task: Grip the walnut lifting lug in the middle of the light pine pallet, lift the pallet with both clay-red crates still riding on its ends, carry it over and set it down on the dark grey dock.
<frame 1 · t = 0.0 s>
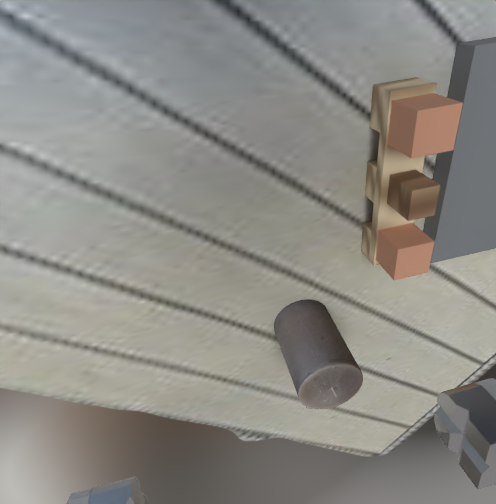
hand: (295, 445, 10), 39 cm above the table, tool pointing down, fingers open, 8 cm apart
pallet: (385, 175, 52), on the table, touching crate a, crate b
pillar candle: (299, 320, 64), on the table
dock: (480, 156, 53), on the table
crate a: (409, 119, 44), point 4 cm above the table, touching pallet
crate b: (393, 241, 53), point 4 cm above the table, touching pallet
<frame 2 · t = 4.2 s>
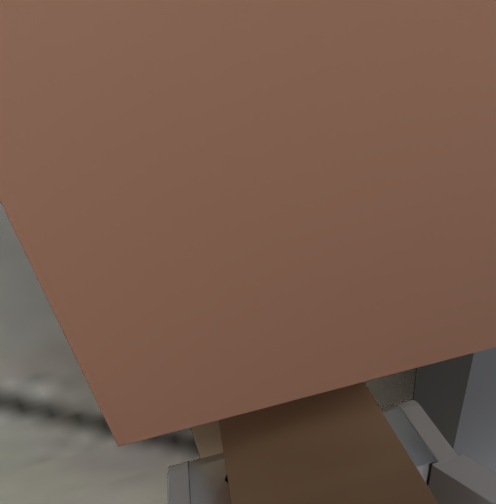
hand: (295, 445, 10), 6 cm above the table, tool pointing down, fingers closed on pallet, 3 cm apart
pallet: (251, 316, 15), on the table, touching crate a, crate b, gripper
crate a: (238, 93, 7), point 4 cm above the table, touching pallet
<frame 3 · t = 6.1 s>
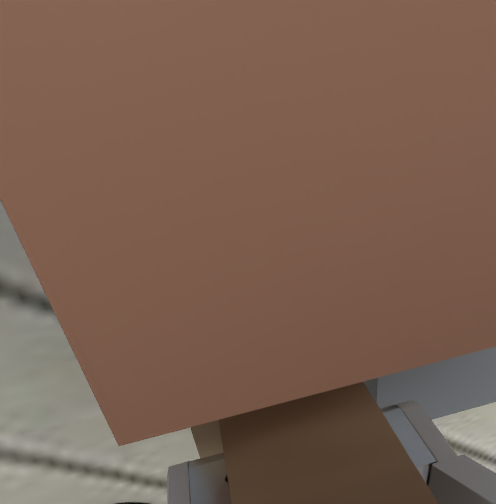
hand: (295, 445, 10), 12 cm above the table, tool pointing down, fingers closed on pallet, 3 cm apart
pallet: (251, 316, 15), point 7 cm above the table, touching crate a, crate b, gripper
dock: (468, 198, 22), on the table
crate a: (238, 93, 7), point 11 cm above the table, touching pallet
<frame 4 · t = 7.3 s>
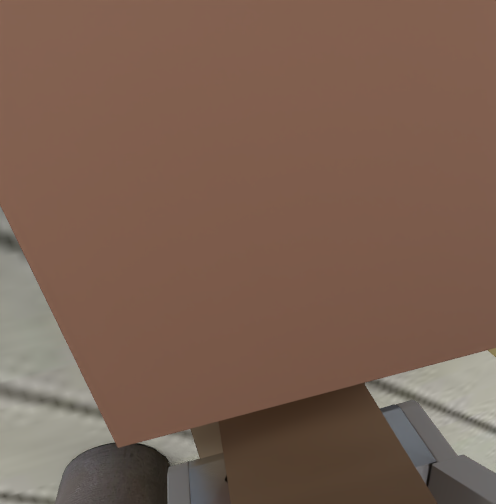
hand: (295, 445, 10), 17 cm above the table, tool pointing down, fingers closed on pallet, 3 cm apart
pallet: (251, 316, 15), point 12 cm above the table, touching crate a, crate b, gripper
pillar candle: (116, 474, 35), on the table
crate a: (238, 94, 7), point 16 cm above the table, touching pallet
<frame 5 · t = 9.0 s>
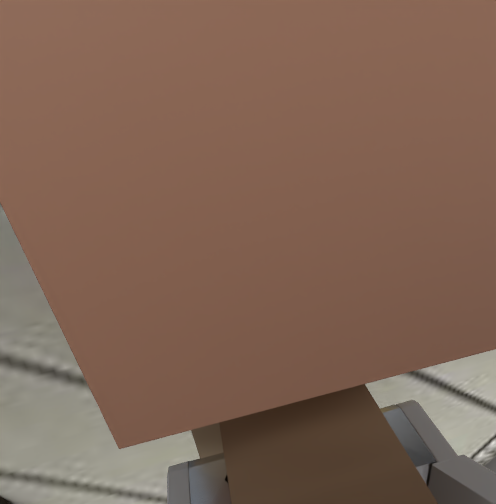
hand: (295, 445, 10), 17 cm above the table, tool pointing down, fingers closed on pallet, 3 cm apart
pallet: (251, 317, 15), point 11 cm above the table, touching crate a, crate b, gripper
crate a: (238, 94, 7), point 15 cm above the table, touching pallet
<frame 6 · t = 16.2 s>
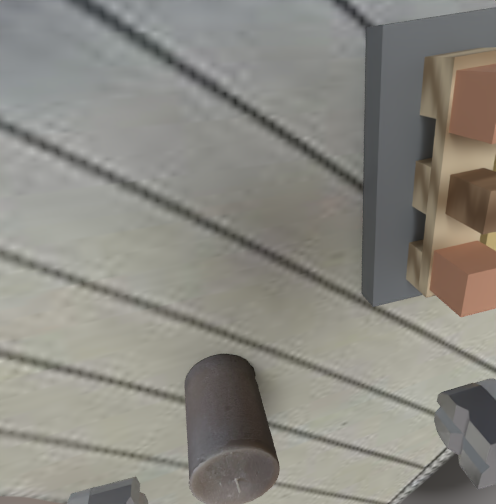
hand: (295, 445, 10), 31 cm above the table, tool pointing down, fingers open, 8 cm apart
pallet: (437, 179, 40), point 3 cm above the table, touching crate a, crate b, dock
pillar candle: (218, 379, 51), on the table
dock: (421, 171, 42), on the table
crate a: (478, 97, 32), point 7 cm above the table, touching pallet
crate b: (453, 265, 41), point 7 cm above the table, touching pallet
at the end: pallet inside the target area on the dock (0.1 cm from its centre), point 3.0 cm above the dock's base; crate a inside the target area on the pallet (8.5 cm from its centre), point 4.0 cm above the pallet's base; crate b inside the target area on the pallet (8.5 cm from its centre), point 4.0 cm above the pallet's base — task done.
